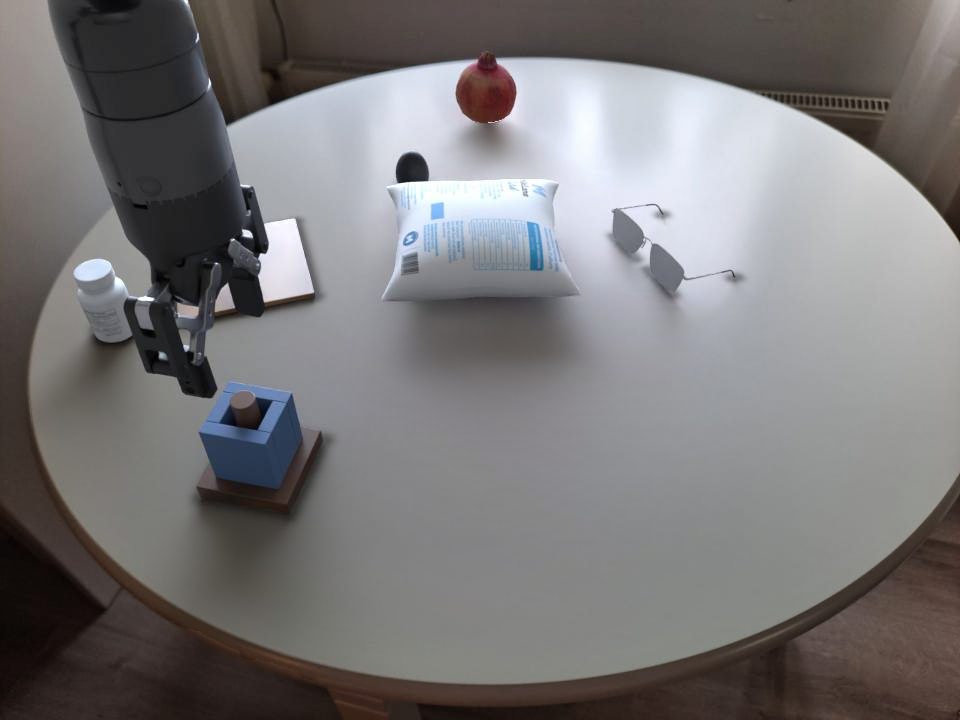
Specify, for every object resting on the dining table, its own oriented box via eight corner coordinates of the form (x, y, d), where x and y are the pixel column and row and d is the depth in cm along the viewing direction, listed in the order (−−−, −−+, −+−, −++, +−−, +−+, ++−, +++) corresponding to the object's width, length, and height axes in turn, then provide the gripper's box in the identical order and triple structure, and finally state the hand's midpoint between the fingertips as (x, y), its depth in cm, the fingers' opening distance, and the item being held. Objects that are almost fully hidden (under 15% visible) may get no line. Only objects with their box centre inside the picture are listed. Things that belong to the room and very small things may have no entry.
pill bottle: (116, 309, 84) (91, 250, 78) (149, 322, 83) (126, 263, 77) (85, 335, 81) (57, 276, 76) (118, 349, 80) (92, 290, 74)
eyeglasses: (605, 230, 94) (612, 201, 91) (660, 217, 97) (668, 188, 94) (678, 301, 85) (688, 271, 83) (736, 284, 88) (747, 254, 86)
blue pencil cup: (215, 477, 67) (198, 432, 63) (243, 427, 71) (228, 381, 67) (278, 489, 66) (265, 444, 62) (303, 438, 70) (292, 392, 66)
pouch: (376, 267, 77) (584, 255, 77) (382, 163, 91) (559, 153, 91) (385, 329, 82) (580, 317, 83) (390, 222, 96) (557, 212, 96)
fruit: (499, 102, 115) (500, 33, 108) (525, 129, 110) (528, 58, 103) (447, 114, 113) (445, 44, 105) (471, 142, 107) (471, 71, 100)
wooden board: (179, 323, 83) (177, 319, 82) (172, 243, 92) (171, 239, 91) (315, 297, 86) (314, 292, 85) (295, 221, 95) (295, 217, 94)
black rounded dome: (391, 182, 101) (388, 147, 97) (421, 174, 102) (419, 139, 98) (404, 199, 98) (401, 163, 95) (434, 191, 99) (433, 155, 96)
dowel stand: (200, 497, 68) (171, 429, 61) (239, 425, 73) (217, 356, 67) (289, 514, 67) (270, 447, 60) (323, 440, 72) (308, 371, 66)
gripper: (167, 96, 53) (222, 283, 65) (41, 221, 44) (133, 415, 55) (273, 109, 52) (310, 296, 64) (168, 240, 43) (234, 433, 54)
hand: (228, 351), depth 60 cm, fingers open, 8 cm apart
